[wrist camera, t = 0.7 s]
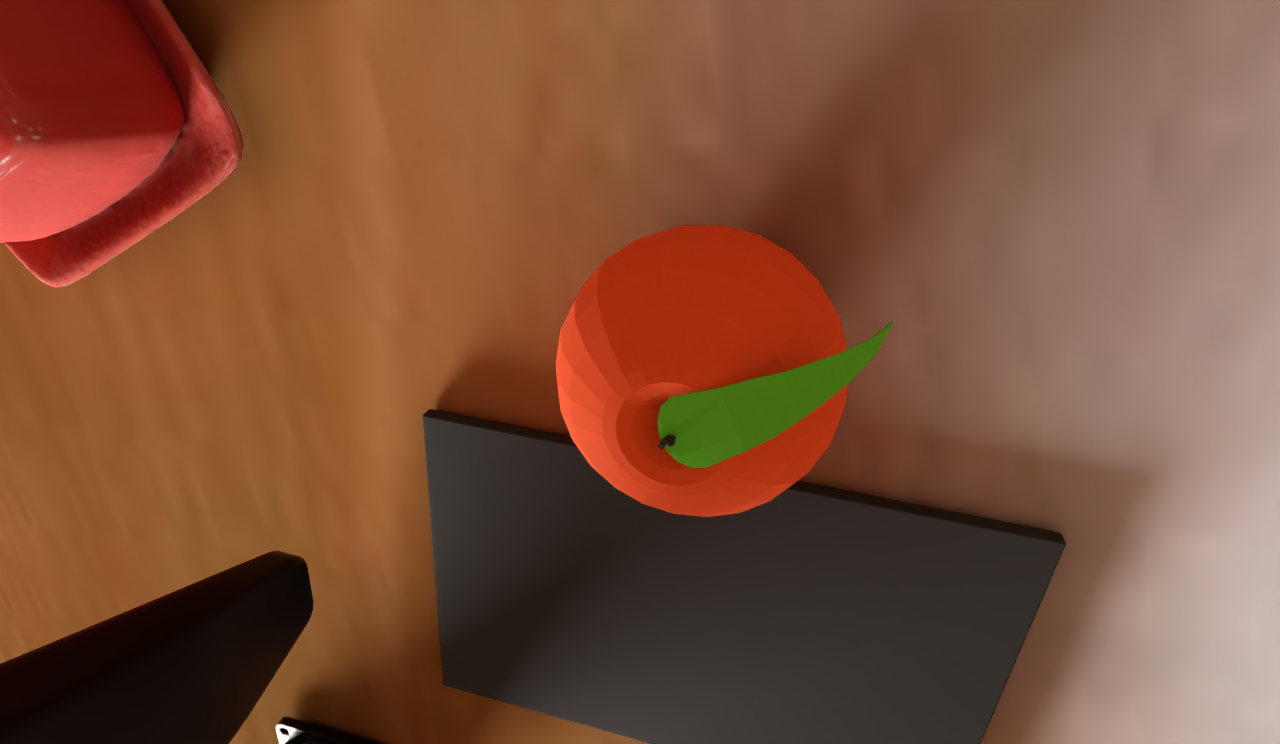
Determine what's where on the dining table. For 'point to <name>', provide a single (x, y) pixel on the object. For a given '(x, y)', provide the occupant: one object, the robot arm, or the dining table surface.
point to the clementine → (704, 370)
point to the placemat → (719, 602)
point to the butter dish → (101, 130)
